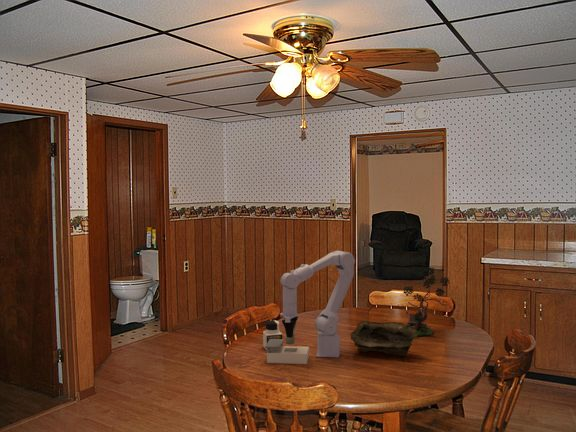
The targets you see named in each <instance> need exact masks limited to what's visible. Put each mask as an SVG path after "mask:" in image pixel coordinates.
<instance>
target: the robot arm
mask: <svg viewBox="0 0 576 432" xmlns="http://www.w3.org/2000/svg"><path fill="white" fill-rule="evenodd" d="M355 263H356V259H355V257H354V255H353V254H352V253H351V252H349V251H341V250H338V249H337V250H334V251H332V252H329V253H328V254H326V255H325V256H323V257H321V258H320V259H317V260H316V261H315V262H313V263H311V264H310V265H309V264H307V263H306V264H304V263H302V264H301V265H300V267H297V268H295V269H292V270H290V272H285V273H283V274H282V276H281V277H280V280H279V282H280V284H281V286H282V312H280V313H279V316H281V317H283V319H282V320H281V322H282V324H283V327H284V331H285V336H286V335H287V338H292V336H293V330H295V329H296V324H297V321H298V319H299V316H298V315H299V313H298V296H297V295H298V292H297V290H298V289H297V287H298V286H299V285H300V284H302V283H303V282H304V281H307V280H308V279H310V278H312V277H313V276H314V273H316V272H317V271H321V270H322V269H325V268H326V267H329V266H334V267H336V269H337V272H338V273H339V277H337V278H338V279H337V281H336V283H335V285H334V287H333V291H332V293H331V295H330V297H329V300H328V302H327V304H326V307H325V308H324V309H323V310H322V311H321V312H320V314H319V315H318V316H317V317H316V318H315V321H314V326H315V328H316V329H317V352H316V355H315V356H316V357H317V358H318V357H319V358H340V354H341V337H340V336H341V335H340V333H336V332H337V331H338V323H339V320H340V319H339V315H338V314H339V312H340V309H341V307H342V305H343V302H344V299H345V297H346V294H347V292H348V290H349V288H350V285H351V283H352V281H353V278H354V275H355V271H354V270H355V269H354V267H355Z"/></svg>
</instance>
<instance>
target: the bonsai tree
mask: <svg viewBox="0 0 576 432" xmlns="http://www.w3.org/2000/svg"><path fill="white" fill-rule="evenodd" d="M434 270H435V268H434V267H430V266H429V267H428V266H427V267H426V266H425V267H423V266H421V267H419V268H418V272H417V274H418V276H419V277H420V276H422V275H423V277H424V278H425V281H423V283H424V284H423V286H422V287H424V288H425V289H426V290H425V291H426V294H425V295H424V296H422V294H419V293H417V292H416V293H415V291H414V289H413V288H414V287H413V286H412V285H411V286H409V285H408V286H407V285H405V286H404V287H403V289H404V290H403V294H404V295H406V297H408V296H409V295H410V296H411V295H413V297H414V299H413V300H416V302H419V306H417V305H414V304H412V303H410V302H411V300H410V301H408V302H407V303H408V304H409V305H410V306H412V307H414V308H416V309H417V308H418V312H416V313H413V312H410V311H409V312H408V311H405V313H406V315H408V316H407V323H406V324H405V325H406V326H410V327H412V328H415V329H416V330H417V335H418V336H417V337H420V336H421V337H423V336H432V335H434V332H435V331H434V330H433V329H431V326H428V324H427V323H425V321H426V320H427V318H428V312H427V310H428V307H429V302H428V301H437V302H439V304H440V305H441V306H449V302H448V301H446V300H442V303H441V301H440V300H438V299H435V298H429V297H430V295H431V289H430V288H431V287H432V286H434V285H436V283H437V282H436V280H437V279H436V276H435V271H434ZM425 276H427V277H428V278H426V277H425ZM438 283H440V284H442V285H441V286H442V287H447V286H448V285H449V284H451V281H450V278H448V277H447V276H441V279H440V280H439V282H438ZM434 292H435V293H436V295H437V296H439V297H443V296H444V295H445V293H447V292H446V291H445V290H443V288H440V287H438V288H437V289H436V290H434ZM444 302H446V303H447V304H444ZM424 303H426V305H425V306H424Z"/></svg>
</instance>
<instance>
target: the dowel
mask: <svg viewBox="0 0 576 432" xmlns="http://www.w3.org/2000/svg"><path fill="white" fill-rule="evenodd" d="M295 332H296V331H295V330H293V336H292V338H287V335H286V334H285V343H286V345H294V344H295V343H296V341H295V340H296V339H295V338H296V337H295V336H296V335H295Z"/></svg>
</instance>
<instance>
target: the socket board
mask: <svg viewBox="0 0 576 432" xmlns="http://www.w3.org/2000/svg"><path fill="white" fill-rule="evenodd" d="M284 341H285V339H284V338H282V339H270V340H269V341H268V343H267V344H266V346H265V348H268V351H266V363H267V364H289V365H290V364H292V365H294V364H296V365H308V362H309V358H310V346H292V345H289V346H288V345H283V346H281V345H282V344H283V343H284ZM265 348H264V349H265Z"/></svg>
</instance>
